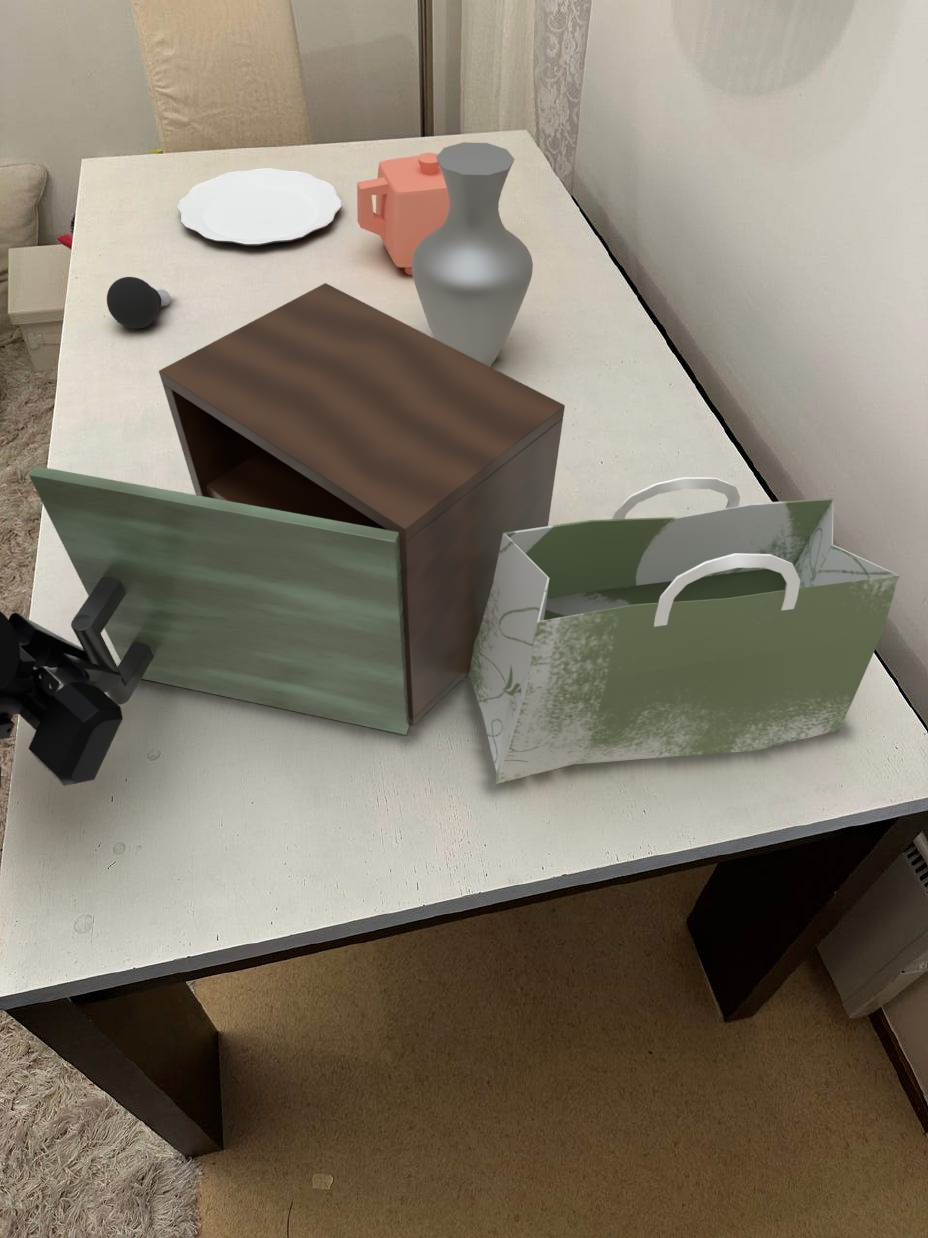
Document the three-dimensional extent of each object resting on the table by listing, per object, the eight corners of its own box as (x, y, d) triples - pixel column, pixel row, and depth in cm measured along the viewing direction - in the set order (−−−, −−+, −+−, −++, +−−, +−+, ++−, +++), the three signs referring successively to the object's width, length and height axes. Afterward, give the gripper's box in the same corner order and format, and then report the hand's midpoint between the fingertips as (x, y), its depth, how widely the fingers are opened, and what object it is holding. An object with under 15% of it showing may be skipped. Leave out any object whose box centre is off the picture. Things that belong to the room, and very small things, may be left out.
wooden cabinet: (413, 726, 74) (405, 529, 56) (220, 578, 85) (158, 370, 66) (536, 609, 83) (565, 404, 64) (348, 488, 94) (325, 282, 75)
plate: (217, 172, 143) (215, 160, 141) (360, 189, 140) (359, 177, 139) (154, 243, 127) (150, 230, 126) (313, 263, 124) (312, 251, 123)
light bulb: (181, 271, 114) (130, 278, 106) (190, 321, 117) (141, 332, 108) (143, 272, 116) (90, 279, 108) (153, 321, 119) (102, 331, 111)
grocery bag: (777, 619, 84) (869, 432, 66) (841, 738, 75) (967, 560, 57) (461, 663, 80) (467, 475, 62) (491, 794, 71) (508, 620, 53)
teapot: (488, 226, 133) (493, 129, 122) (516, 265, 125) (523, 166, 114) (352, 244, 128) (344, 145, 117) (372, 286, 121) (365, 184, 110)
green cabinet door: (389, 788, 70) (371, 602, 52) (99, 724, 74) (-17, 527, 55) (409, 725, 74) (399, 531, 56) (132, 667, 78) (35, 465, 59)
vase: (545, 353, 111) (567, 152, 92) (482, 406, 104) (492, 200, 84) (457, 316, 116) (460, 119, 97) (391, 364, 109) (380, 161, 89)
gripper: (-197, 707, 59) (7, 693, 73) (-50, 874, 52) (144, 822, 66) (-145, 568, 57) (55, 581, 71) (16, 723, 50) (202, 703, 64)
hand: (109, 672), depth 68 cm, fingers closed
